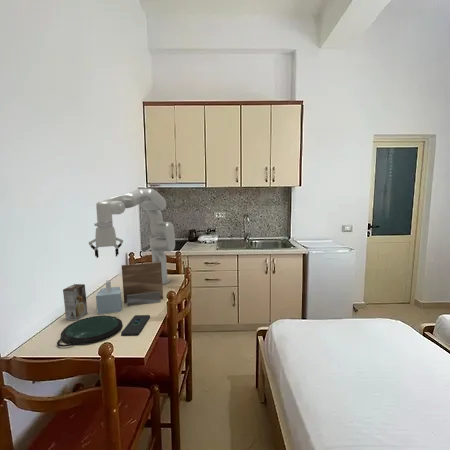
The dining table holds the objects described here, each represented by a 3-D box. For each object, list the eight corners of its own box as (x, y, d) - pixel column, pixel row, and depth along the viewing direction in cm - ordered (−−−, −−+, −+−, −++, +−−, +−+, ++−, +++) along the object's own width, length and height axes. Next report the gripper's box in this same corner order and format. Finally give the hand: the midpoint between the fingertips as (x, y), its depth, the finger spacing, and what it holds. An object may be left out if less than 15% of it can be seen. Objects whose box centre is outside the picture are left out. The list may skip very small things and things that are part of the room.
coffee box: (77, 312, 167) (74, 283, 165) (87, 313, 165) (85, 284, 163) (65, 320, 158) (62, 289, 156) (76, 320, 156) (73, 289, 154)
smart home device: (150, 314, 158) (138, 333, 138) (150, 317, 158) (138, 336, 139) (134, 314, 159) (120, 333, 139) (134, 318, 159) (120, 337, 139)
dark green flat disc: (134, 319, 150) (79, 348, 123) (134, 325, 150) (80, 355, 124) (96, 310, 162) (39, 335, 136) (96, 316, 162) (39, 342, 136)
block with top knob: (100, 305, 176) (97, 278, 174) (122, 303, 179) (120, 276, 177) (97, 314, 164) (95, 284, 162) (121, 311, 167) (119, 282, 165)
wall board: (124, 302, 180) (121, 265, 177) (162, 297, 186) (160, 261, 183) (123, 306, 173) (121, 268, 171) (163, 301, 179) (161, 264, 177)
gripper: (86, 226, 159) (88, 259, 161) (122, 224, 164) (123, 256, 165) (88, 225, 166) (90, 256, 168) (122, 223, 171) (124, 254, 173)
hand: (107, 256), depth 167 cm, fingers open, 9 cm apart
